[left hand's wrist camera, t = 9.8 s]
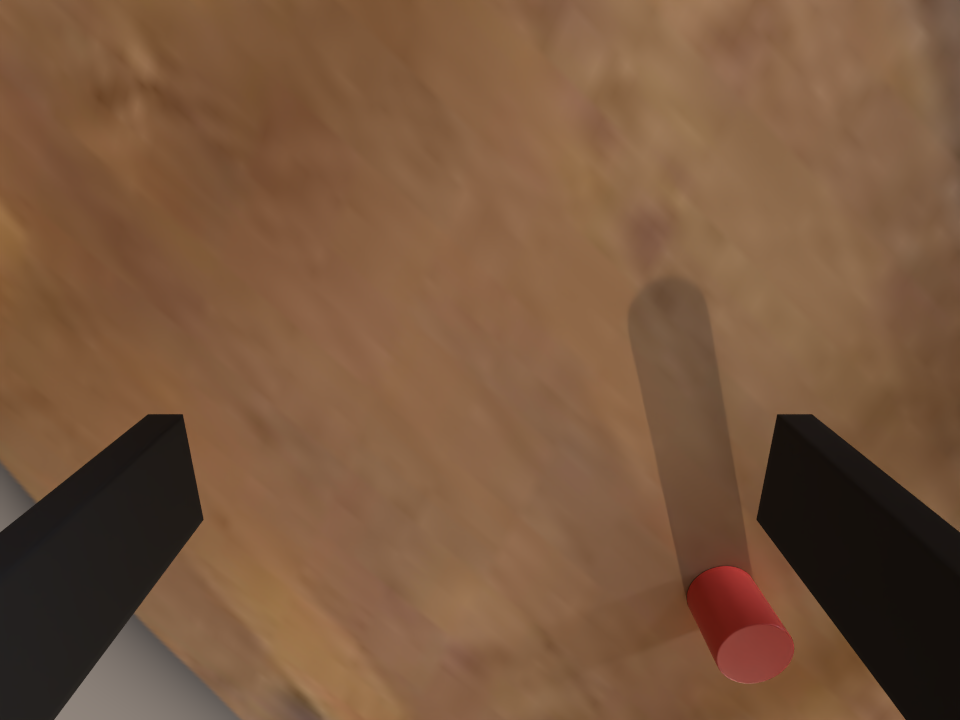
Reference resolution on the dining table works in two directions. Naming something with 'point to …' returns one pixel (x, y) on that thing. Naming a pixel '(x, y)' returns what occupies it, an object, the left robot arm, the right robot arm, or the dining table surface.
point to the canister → (739, 625)
